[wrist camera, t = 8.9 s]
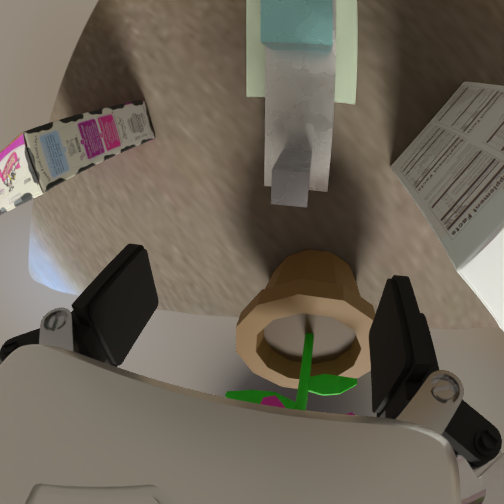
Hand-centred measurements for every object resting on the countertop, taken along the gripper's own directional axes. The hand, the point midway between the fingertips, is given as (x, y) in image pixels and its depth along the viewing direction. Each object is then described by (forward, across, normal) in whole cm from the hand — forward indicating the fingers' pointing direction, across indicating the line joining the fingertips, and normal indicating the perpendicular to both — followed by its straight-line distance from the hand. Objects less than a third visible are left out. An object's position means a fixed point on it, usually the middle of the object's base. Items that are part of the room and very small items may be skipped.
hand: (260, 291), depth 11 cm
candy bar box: (+20, +21, -3) cm, 29 cm away
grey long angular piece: (+20, 0, -7) cm, 21 cm away
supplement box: (+20, -18, -2) cm, 27 cm away
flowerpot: (+20, -3, +15) cm, 26 cm away
